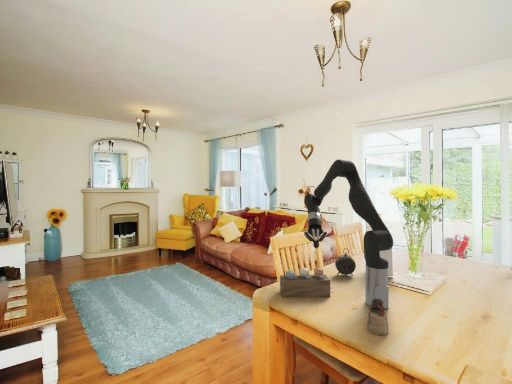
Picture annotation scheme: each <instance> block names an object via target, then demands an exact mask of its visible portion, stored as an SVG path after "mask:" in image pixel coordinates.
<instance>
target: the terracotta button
mask: <svg viewBox="0 0 512 384" xmlns="http://www.w3.org/2000/svg"><path fill="white" fill-rule="evenodd" d="M313 269H314V270H313V275H324V268H322V267H314V268H313Z"/></svg>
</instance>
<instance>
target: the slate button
mask: <svg viewBox="0 0 512 384" xmlns="http://www.w3.org/2000/svg"><path fill="white" fill-rule="evenodd" d="M285 275H286V278H288V279H293V278H295V275H296V272H295V271H293V270H287V271H285Z"/></svg>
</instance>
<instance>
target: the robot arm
mask: <svg viewBox="0 0 512 384" xmlns="http://www.w3.org/2000/svg"><path fill="white" fill-rule="evenodd" d="M336 178H345V179H346V180H347V182H348V184H349V191H348V201H349V203H350V206H351V207H352V209H353V211H354V213H356V214H357V215H358V216H359V218H361V219H363V220H364V221H365V222H366V223H367V224H368V225H369V227H370V228H371V230H366V232H365V233H364V235H363V257H364V261H365V288H364V289H365V295H364V296H365V298H364V300H365V304H366V306H369V308H371V304H372V300H374V299H375V298H380V299H381V300H382V301H383V306H384V310H385V309H389V301H390V300H389V299H390V298H389V296H390V295H389V294H390V292H389V291H390V288H389V277H388V261H387V260H386V259H384V258H381V257H380V252H379V251H385V250H390V249H391V248H392V249H393V247H394V238H393V236H392V234H391V232H390V230H389V228H388V227H387V226H386V224H385V223H384V221H383V219H382V218H381V216H380V215H379V213H378V211H377V210H376V207H375V205H374V204H373V202H372V199H371V197H370V196H369V193H368V192H367V190H366V188H365V186H364V184H363V182H362V180H361V177H360V175H359V172H358V168H357V167H356V164H355V163H354V161H352V160H348V159H341V158H340V159H335V161H333V163H332V165H330V167H329V169H328V171H327V172H326V174H325V175H324V178H323V179H322V181H321V182H320V183H319V184H318V185H317V187H315V189H314V191H313V193H309V192H308V193H306V194H305V196H304V199H303V200H304V201H303V202H304V204H305V207H306V209H307V226H308V227H307V231H304V233H303V234H304V236H305V238H306V239H307V240H309V242H312V243H313V244H312V246H313V248H314V249H318V248H319V247H320V243H322V242H323V241H324V239H325V238H326V237H327V235H328V232H327V231H324V229H323V225H322V217H321V209H320V206H321V205H322V203H323V201H324V198H325V197H326V196H327V195H328V193H330V192H331V190H332V188H333V187H332V186H333V181H334V180H335V179H336Z"/></svg>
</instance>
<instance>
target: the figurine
mask: <svg viewBox="0 0 512 384" xmlns="http://www.w3.org/2000/svg"><path fill="white" fill-rule="evenodd" d="M368 309H369V312H368V317H367V323H366V329H367V330H368V332H369V333H371V334H373V335H376V336H387V335H388V334H389V322H388V315H387V312H386V311H385V309H384V306H383V301H382V300H381V299H380V298H375V299H374V300H372V304H371V307H369V308H368Z"/></svg>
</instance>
